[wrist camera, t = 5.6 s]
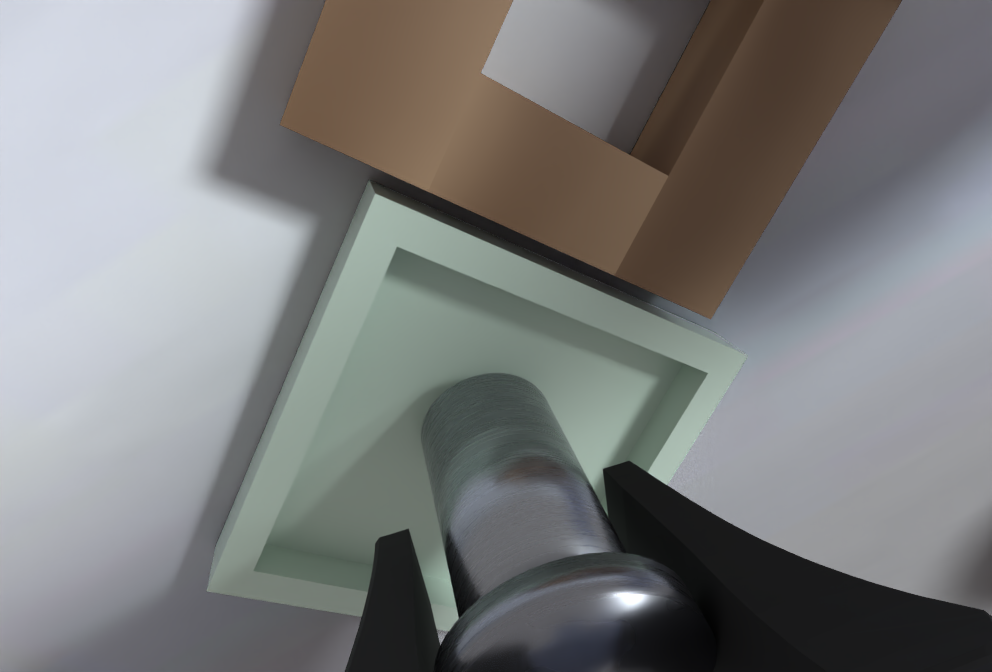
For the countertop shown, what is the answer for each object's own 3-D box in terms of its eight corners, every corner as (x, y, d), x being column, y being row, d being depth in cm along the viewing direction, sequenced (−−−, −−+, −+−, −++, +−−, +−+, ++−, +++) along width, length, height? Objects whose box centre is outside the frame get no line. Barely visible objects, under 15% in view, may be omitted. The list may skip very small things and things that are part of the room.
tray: (715, 332, 18) (748, 355, 16) (547, 610, 20) (563, 650, 19) (368, 179, 14) (375, 193, 12) (214, 547, 16) (206, 591, 15)
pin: (594, 356, 15) (759, 589, 10) (550, 499, 17) (664, 763, 12) (409, 343, 14) (471, 604, 8) (384, 499, 16) (419, 798, 10)
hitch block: (873, -66, 14) (964, -86, 12) (668, 290, 17) (717, 324, 15) (479, -411, 11) (519, -521, 9) (283, 114, 13) (278, 126, 11)
